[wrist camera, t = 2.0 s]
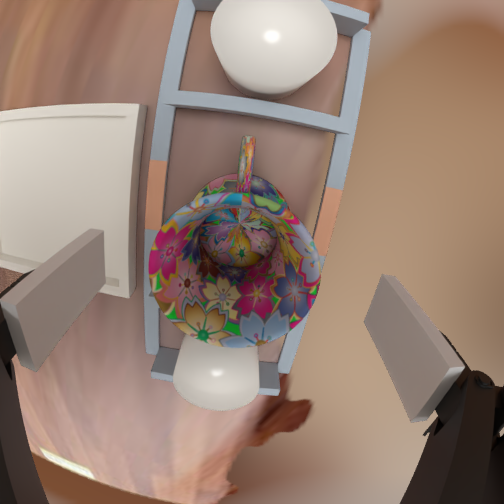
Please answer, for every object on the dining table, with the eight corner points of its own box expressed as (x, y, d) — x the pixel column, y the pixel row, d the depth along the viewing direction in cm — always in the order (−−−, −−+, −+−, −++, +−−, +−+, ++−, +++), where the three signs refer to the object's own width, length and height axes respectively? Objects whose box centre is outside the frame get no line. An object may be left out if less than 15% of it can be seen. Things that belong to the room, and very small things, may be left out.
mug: (285, 276, 28) (302, 354, 18) (183, 265, 27) (152, 339, 17) (306, 142, 23) (347, 151, 13) (191, 129, 23) (150, 130, 13)
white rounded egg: (186, 347, 31) (173, 403, 24) (190, 292, 28) (172, 347, 21) (251, 356, 31) (251, 414, 24) (263, 303, 29) (267, 360, 21)
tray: (1, 257, 27) (-8, 264, 25) (-4, 113, 20) (-16, 114, 18) (135, 288, 28) (129, 298, 26) (147, 105, 22) (139, 104, 20)
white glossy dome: (215, 93, 21) (200, 75, 14) (231, 17, 19) (223, -26, 11) (303, 107, 22) (327, 97, 15) (316, 32, 19) (343, -4, 12)
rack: (147, 350, 31) (137, 374, 27) (181, 0, 18) (170, -18, 14) (288, 370, 32) (291, 396, 29) (368, 33, 19) (387, 20, 15)
